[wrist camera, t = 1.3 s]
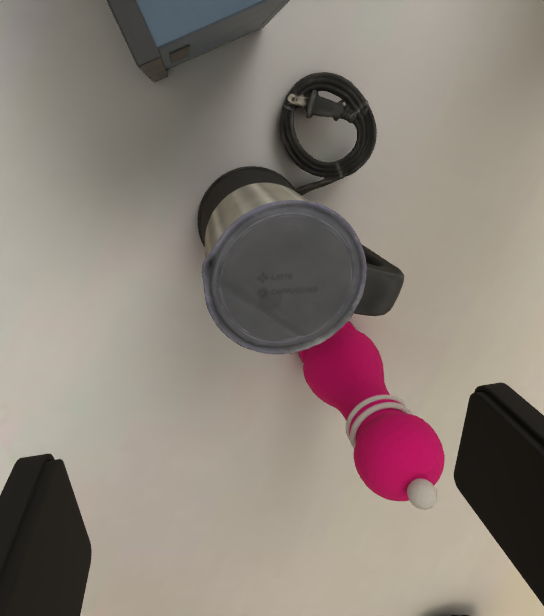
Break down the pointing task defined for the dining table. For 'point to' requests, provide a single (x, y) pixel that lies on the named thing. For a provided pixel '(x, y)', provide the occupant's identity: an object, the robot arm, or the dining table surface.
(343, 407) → the pepper mill
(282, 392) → the dining table surface
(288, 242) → the milk frother
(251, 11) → the blue storage bin
